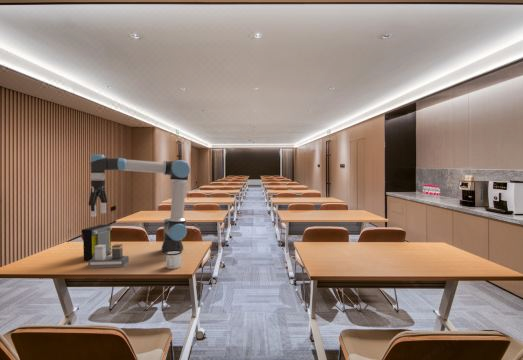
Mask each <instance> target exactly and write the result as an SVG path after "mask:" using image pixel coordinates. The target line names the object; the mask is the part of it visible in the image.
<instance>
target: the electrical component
mask: <svg viewBox="0 0 523 360" xmlns="http://www.w3.org/2000/svg"><path fill="white" fill-rule="evenodd" d="M112 229H113V227H112V225H111V224H97V225H94V226H91V227H88V228H83V229H81V235H80V238H81V240H82V241H83V245H82V247H83V249H82V250H83V261H84V262H88V261H89V260H91V259H92V258H94V257H95V246H97V245H106V256H109V255H112V246H111V245H112V244H111V242H112V240H111V235H112V234H111V231H112Z"/></svg>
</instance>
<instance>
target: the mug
mask: <svg viewBox="0 0 523 360" xmlns="http://www.w3.org/2000/svg"><path fill="white" fill-rule="evenodd" d="M182 251H183V250H182ZM182 251H180V250H170V251H167V252H164V254H165V256H166V257H165V258H166V259H165V261H166V265H165V266H166V267H165V268H166V269H167V270H177V269H180V268H181V267H182V255H181V254H182V253H183V252H182ZM176 268H177V269H176Z"/></svg>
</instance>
